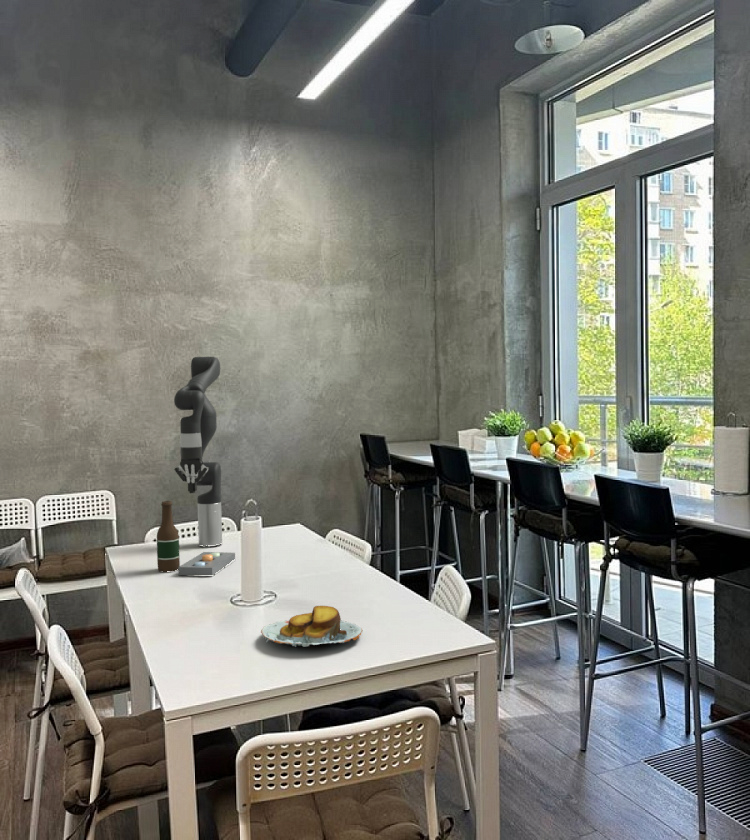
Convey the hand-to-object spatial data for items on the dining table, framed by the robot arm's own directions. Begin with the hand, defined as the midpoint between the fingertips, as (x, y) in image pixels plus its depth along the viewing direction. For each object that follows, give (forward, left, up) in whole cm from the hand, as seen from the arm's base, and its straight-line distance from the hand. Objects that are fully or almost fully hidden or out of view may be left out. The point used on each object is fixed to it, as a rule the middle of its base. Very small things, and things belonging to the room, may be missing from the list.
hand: (192, 492), depth 279 cm
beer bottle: (+14, -4, -25) cm, 29 cm away
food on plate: (+77, +63, -26) cm, 102 cm away
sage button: (+3, +9, -24) cm, 26 cm away
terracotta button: (+10, +9, -24) cm, 27 cm away
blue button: (+17, +9, -24) cm, 31 cm away
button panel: (+10, +9, -25) cm, 28 cm away
